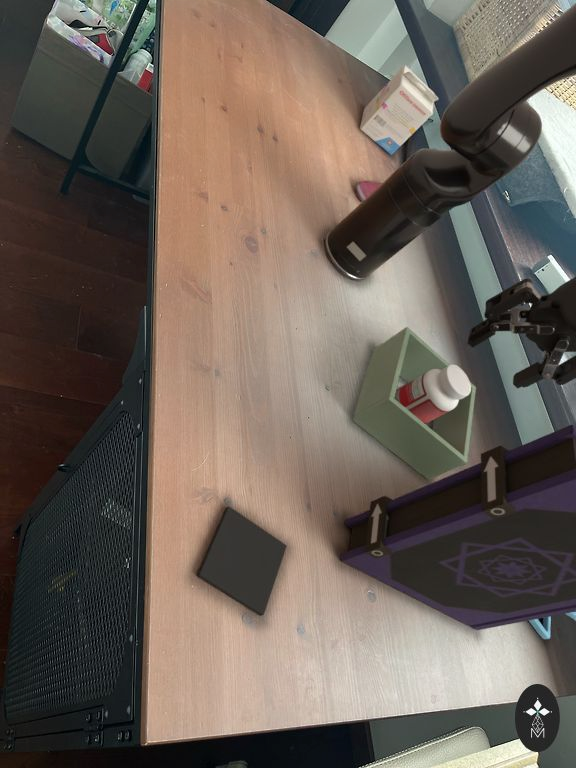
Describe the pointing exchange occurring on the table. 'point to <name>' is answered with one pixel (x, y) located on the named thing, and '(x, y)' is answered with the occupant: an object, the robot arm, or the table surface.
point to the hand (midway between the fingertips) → (492, 361)
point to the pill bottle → (434, 392)
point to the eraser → (366, 189)
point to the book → (482, 536)
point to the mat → (242, 561)
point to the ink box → (398, 110)
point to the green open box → (397, 423)
